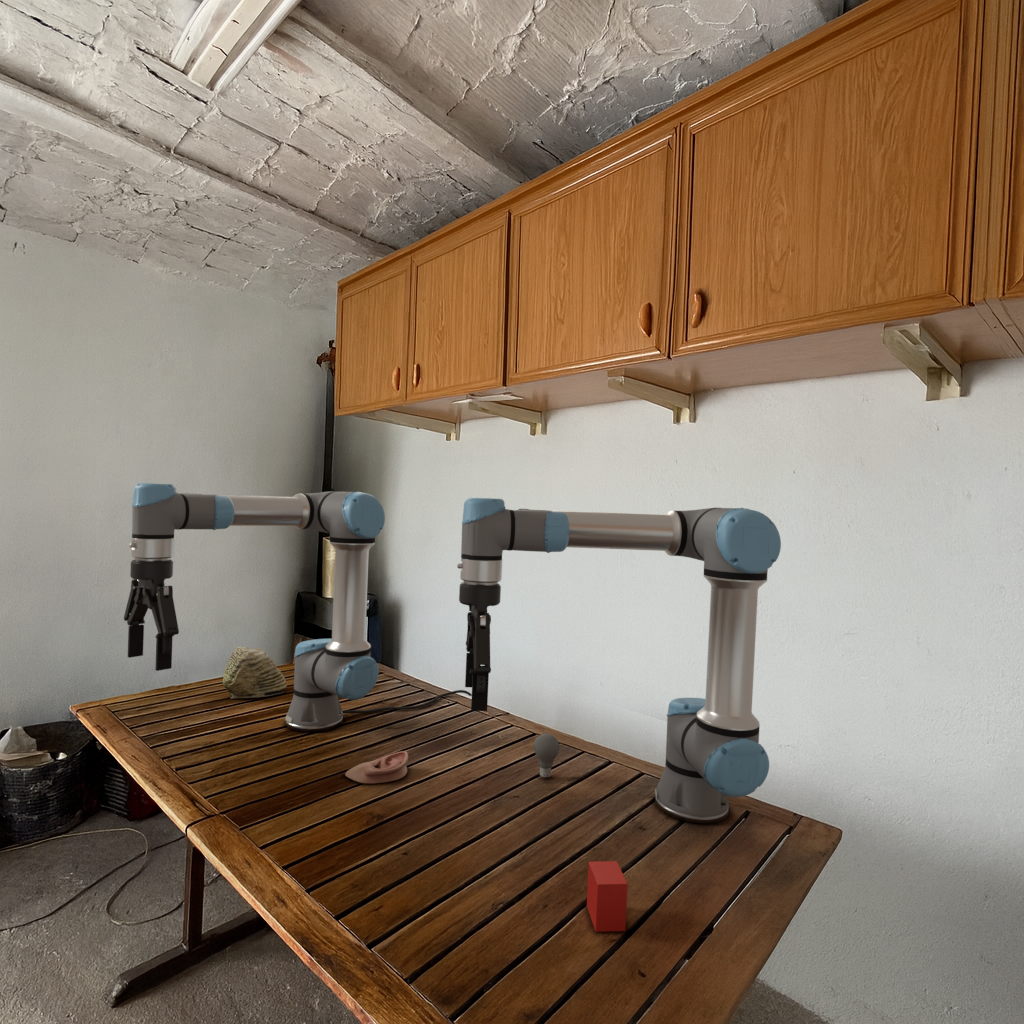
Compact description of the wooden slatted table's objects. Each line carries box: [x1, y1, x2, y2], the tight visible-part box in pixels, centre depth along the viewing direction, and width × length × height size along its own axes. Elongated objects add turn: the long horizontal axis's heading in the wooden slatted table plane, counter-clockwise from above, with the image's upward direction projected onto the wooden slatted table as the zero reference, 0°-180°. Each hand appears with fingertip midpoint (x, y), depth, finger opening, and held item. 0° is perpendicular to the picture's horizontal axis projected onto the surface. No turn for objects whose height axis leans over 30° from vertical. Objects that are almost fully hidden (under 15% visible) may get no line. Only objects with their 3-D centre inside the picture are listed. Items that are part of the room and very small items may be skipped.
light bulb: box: [533, 732, 560, 778], centre depth 148 cm, size 6×6×10 cm
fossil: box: [222, 646, 288, 699], centre depth 198 cm, size 9×18×15 cm, turn 132°
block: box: [586, 860, 629, 933], centre depth 98 cm, size 5×6×7 cm
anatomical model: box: [344, 750, 409, 784], centre depth 146 cm, size 13×4×12 cm
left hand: (148, 662), depth 129 cm, fingers open, 13 cm apart
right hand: (475, 698), depth 116 cm, fingers open, 13 cm apart
